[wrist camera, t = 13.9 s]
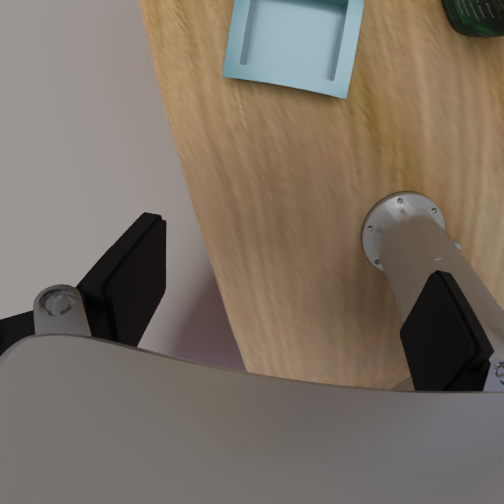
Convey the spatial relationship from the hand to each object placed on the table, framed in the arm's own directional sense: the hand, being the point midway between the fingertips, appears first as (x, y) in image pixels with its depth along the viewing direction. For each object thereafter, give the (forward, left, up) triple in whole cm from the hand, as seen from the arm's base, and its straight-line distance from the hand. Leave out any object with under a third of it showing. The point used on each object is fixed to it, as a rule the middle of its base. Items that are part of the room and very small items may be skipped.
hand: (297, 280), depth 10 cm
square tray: (+2, -12, -30) cm, 33 cm away
